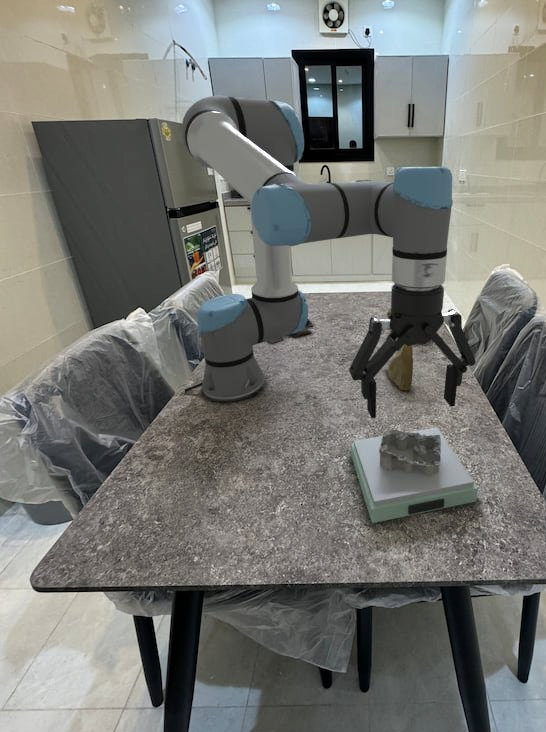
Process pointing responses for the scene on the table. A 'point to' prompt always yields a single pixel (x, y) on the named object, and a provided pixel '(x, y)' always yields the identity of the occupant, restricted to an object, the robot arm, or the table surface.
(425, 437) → the egg carton
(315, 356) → the table surface
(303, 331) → the cloth
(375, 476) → the scale
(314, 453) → the table surface
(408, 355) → the rock
